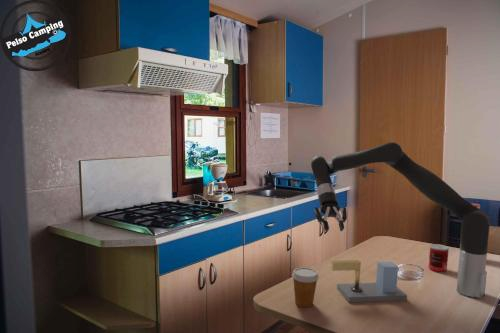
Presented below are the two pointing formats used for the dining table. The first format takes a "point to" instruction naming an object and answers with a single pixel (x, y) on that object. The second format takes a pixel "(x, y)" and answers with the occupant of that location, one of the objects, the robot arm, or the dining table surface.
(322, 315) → the dining table surface
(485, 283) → the robot arm
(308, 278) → the disposable coffee cup
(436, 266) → the canned food
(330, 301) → the dining table surface
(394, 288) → the light blue block
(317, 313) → the dining table surface
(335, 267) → the golden lever handle
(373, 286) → the plate
